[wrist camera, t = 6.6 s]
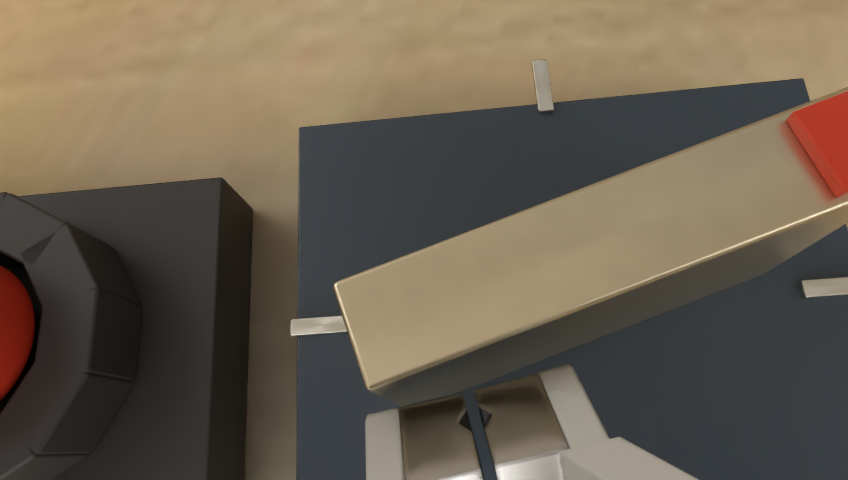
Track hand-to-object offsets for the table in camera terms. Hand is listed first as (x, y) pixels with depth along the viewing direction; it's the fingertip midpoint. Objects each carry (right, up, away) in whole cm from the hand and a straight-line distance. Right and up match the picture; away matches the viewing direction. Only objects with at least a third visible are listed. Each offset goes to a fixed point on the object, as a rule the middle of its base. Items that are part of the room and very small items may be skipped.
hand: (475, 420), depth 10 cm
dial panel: (+3, +1, +6) cm, 7 cm away
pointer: (+2, +1, +4) cm, 5 cm away
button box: (-10, 0, +7) cm, 12 cm away
